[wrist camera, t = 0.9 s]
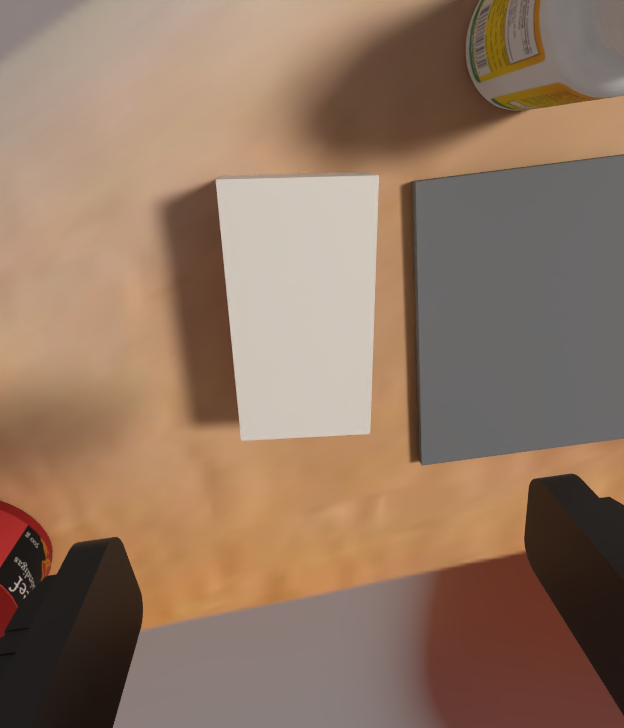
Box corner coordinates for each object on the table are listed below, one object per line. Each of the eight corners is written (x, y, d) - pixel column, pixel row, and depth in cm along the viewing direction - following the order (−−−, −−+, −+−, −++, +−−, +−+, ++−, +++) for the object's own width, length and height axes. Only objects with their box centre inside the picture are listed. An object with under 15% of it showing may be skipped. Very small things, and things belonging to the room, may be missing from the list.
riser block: (362, 171, 22) (379, 175, 19) (357, 396, 27) (369, 433, 24) (226, 175, 22) (215, 179, 18) (246, 401, 27) (241, 440, 23)
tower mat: (744, 139, 22) (756, 138, 22) (676, 425, 29) (683, 430, 29) (412, 181, 22) (415, 181, 22) (419, 459, 29) (421, 465, 28)
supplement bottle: (437, 43, 20) (559, -42, 11) (539, -72, 19) (767, -267, 10) (510, 140, 22) (665, 132, 13) (609, 42, 21) (854, -40, 12)
